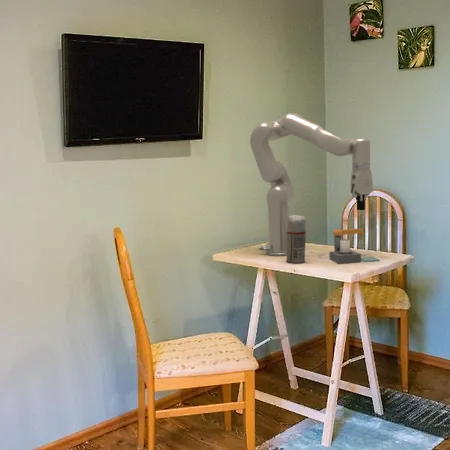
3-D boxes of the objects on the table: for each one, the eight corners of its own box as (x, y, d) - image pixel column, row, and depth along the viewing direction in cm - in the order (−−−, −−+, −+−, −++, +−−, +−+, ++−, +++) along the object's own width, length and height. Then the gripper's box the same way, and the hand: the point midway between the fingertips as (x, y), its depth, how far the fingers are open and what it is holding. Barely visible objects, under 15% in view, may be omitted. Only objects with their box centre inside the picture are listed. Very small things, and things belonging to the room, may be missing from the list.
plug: (342, 262, 281) (342, 241, 280) (337, 260, 286) (336, 239, 285) (353, 261, 283) (353, 240, 281) (348, 259, 288) (348, 238, 286)
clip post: (334, 258, 289) (334, 237, 288) (330, 256, 294) (330, 235, 293) (345, 258, 290) (345, 236, 289) (340, 256, 295) (340, 234, 294)
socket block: (338, 264, 279) (338, 255, 278) (329, 259, 288) (329, 251, 288) (361, 262, 281) (361, 254, 280) (351, 257, 290) (351, 250, 290)
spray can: (304, 259, 290) (304, 214, 287) (307, 263, 282) (306, 216, 279) (285, 260, 290) (284, 214, 287) (287, 263, 282) (286, 217, 279)
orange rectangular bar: (335, 237, 289) (335, 230, 288) (332, 236, 292) (332, 229, 292) (364, 235, 293) (364, 228, 292) (360, 234, 296) (360, 227, 296)
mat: (364, 262, 281) (364, 260, 281) (357, 259, 287) (357, 257, 287) (380, 261, 282) (380, 259, 282) (372, 257, 289) (372, 256, 289)
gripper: (356, 168, 278) (356, 212, 281) (379, 166, 288) (378, 208, 291) (342, 168, 284) (342, 210, 287) (365, 166, 294) (364, 207, 296)
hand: (360, 209), depth 289 cm, fingers closed
